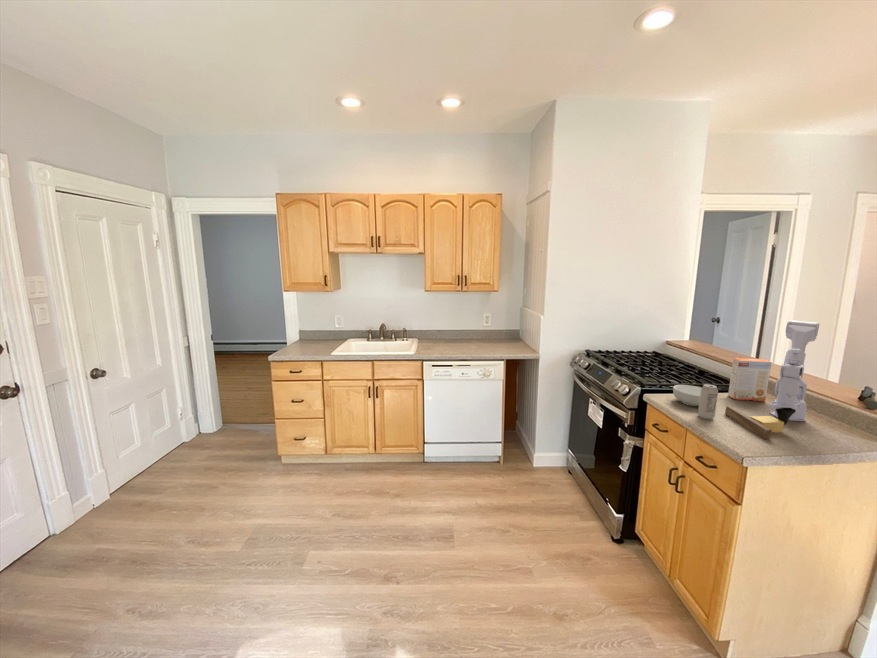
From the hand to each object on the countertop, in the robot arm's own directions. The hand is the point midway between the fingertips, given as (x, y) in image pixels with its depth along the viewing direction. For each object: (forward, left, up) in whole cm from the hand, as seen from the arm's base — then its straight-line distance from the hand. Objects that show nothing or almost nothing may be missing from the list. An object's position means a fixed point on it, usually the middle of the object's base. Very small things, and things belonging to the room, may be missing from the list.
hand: (781, 424), depth 149 cm
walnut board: (+11, -3, -3) cm, 12 cm away
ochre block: (+5, -1, -3) cm, 6 cm away
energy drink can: (+23, -10, -3) cm, 26 cm away
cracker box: (-11, -37, -3) cm, 39 cm away
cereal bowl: (+20, -27, -3) cm, 34 cm away
